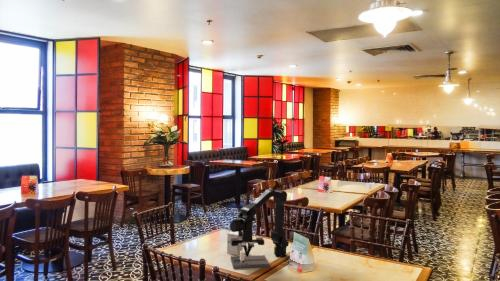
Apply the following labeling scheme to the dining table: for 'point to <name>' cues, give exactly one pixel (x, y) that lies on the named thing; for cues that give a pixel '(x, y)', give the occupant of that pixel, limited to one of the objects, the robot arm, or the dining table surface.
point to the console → (249, 262)
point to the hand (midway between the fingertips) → (247, 256)
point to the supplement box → (233, 249)
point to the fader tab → (242, 255)
